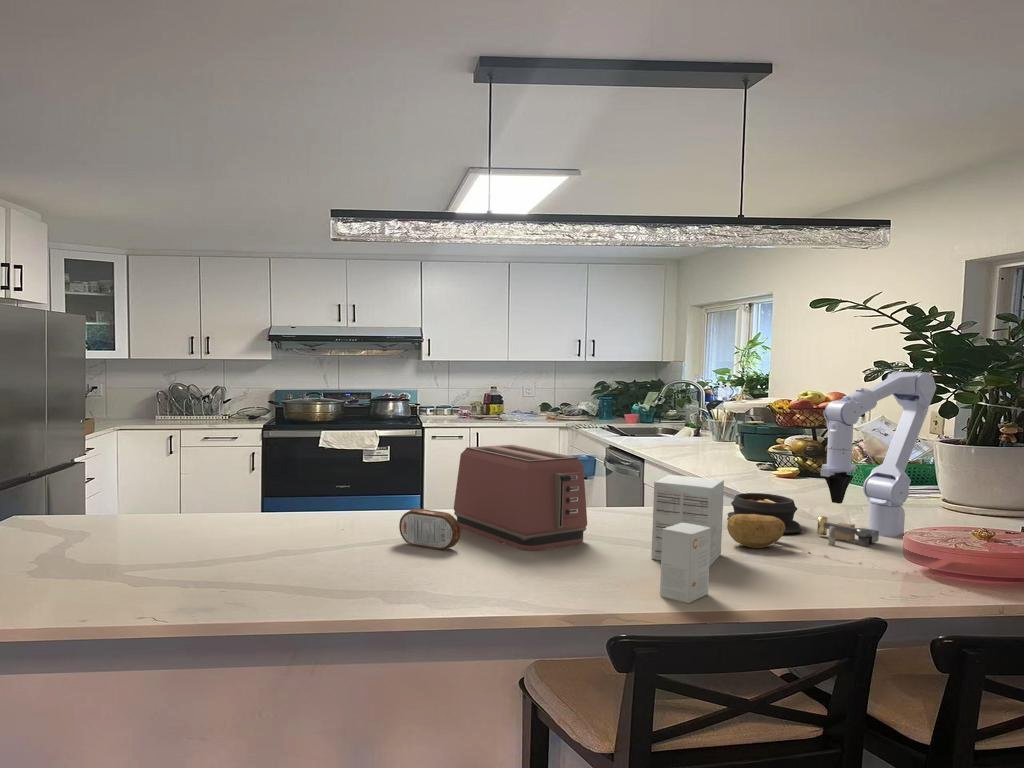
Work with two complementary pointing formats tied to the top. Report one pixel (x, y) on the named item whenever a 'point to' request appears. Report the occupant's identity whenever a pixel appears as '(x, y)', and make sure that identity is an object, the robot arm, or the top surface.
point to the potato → (755, 529)
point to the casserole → (767, 508)
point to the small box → (685, 562)
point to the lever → (846, 529)
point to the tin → (429, 529)
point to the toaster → (521, 496)
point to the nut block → (845, 533)
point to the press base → (861, 540)
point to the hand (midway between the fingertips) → (837, 502)
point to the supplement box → (688, 508)
